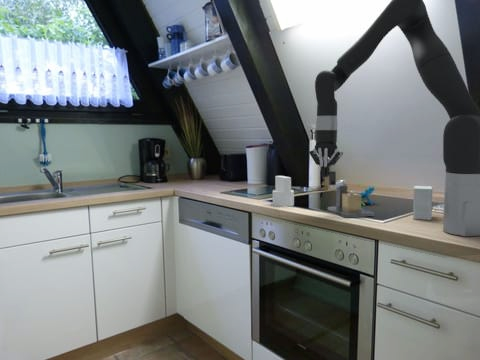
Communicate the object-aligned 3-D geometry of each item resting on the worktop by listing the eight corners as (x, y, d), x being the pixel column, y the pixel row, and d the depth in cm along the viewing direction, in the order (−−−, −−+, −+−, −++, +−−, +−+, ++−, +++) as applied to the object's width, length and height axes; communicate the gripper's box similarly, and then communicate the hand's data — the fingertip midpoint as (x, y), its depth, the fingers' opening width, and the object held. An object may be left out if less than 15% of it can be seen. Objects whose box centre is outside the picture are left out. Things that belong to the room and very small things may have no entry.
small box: (431, 220, 117) (432, 189, 116) (412, 219, 120) (413, 188, 119) (430, 215, 124) (432, 186, 123) (413, 214, 127) (414, 185, 126)
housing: (361, 211, 128) (361, 191, 128) (348, 212, 128) (348, 192, 127) (354, 208, 133) (355, 189, 133) (342, 209, 133) (342, 190, 132)
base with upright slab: (269, 203, 154) (268, 176, 153) (287, 202, 157) (287, 175, 156) (278, 207, 146) (278, 178, 144) (297, 205, 149) (297, 177, 148)
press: (374, 216, 125) (374, 190, 124) (344, 218, 124) (345, 191, 123) (353, 207, 141) (353, 184, 140) (326, 209, 139) (326, 185, 138)
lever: (339, 184, 140) (339, 168, 139) (347, 184, 138) (347, 168, 137) (326, 189, 127) (326, 171, 127) (335, 189, 126) (335, 171, 125)
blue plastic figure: (363, 197, 156) (376, 183, 149) (372, 207, 153) (386, 193, 146) (347, 203, 150) (360, 189, 143) (356, 214, 147) (370, 200, 140)
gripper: (348, 129, 125) (346, 177, 128) (316, 129, 134) (314, 174, 137) (338, 128, 120) (336, 179, 122) (304, 129, 129) (303, 176, 131)
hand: (324, 176), depth 130 cm, fingers closed
